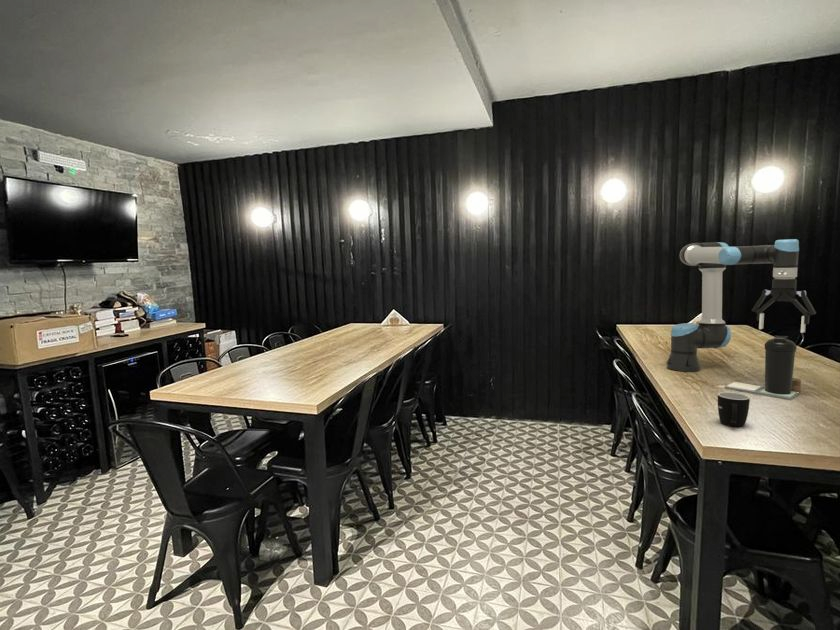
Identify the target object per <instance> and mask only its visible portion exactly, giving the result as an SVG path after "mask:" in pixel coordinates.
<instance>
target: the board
mask: <svg viewBox="0 0 840 630" xmlns="http://www.w3.org/2000/svg"><path fill="white" fill-rule="evenodd" d="M724 388H725V390H729V389H730V391H734V392H735V391H736V392H741V393H742V392H743V393H748V394H753V395H759V396H765V397H770V398H775V399H780V400H781V399H782V400H788V401H793V400H794V399H795V398H796V397H798V396H800V393H797V392H793V391H791V394H787V395H782V394H774V393H769V392H766V391H765V386H760V385H757V384H756V385H755V384H749V383H744V382H737V381H733V382H731V383H729V384H727V385H726V386H724Z"/></svg>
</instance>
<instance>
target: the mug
mask: <svg viewBox="0 0 840 630" xmlns="http://www.w3.org/2000/svg"><path fill="white" fill-rule="evenodd" d="M750 400H751V399H750V396H749V395H746V394H744V393H740V392H735V391H734V392H733V391H722V392H719V393H717V412H718V417H719V420H720V423H721V424H722V425H724V426H726V427H731V428H742V427H744V426H745V424H746V423H747V420H748V415H749V408H750V402H751V401H750Z"/></svg>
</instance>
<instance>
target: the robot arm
mask: <svg viewBox="0 0 840 630" xmlns="http://www.w3.org/2000/svg"><path fill="white" fill-rule="evenodd" d="M799 243H800V242H799V240H798V239H797V238H795V239H794V238H791V239H790V238H789V239H777V240H775V242H774V245H773V244H769V245H768V244H764V245H762V244H761V245H747V246H746V245H743V246H742V245H741V246H729V244H728V243H726V242H719V241H718V242H717V241H714V242H693V243H689V244H686V245H685V246H683V247H682V248H681V249H680V252H679V260H680V261H681V263H682V264H684V265H686V266H691V267H696V266H697V267H698V270H699V271H700V272H701V275H702V276H701V280H702V281H701V284H702V285H701V319H700V320H699V321H698V322H697V323H695V322H686V323H685V322H682V323H678V324H674V325H673V326H672V327H671V332H670V354H669V356H668V359H667V362H666V368H667V369H668V368H669V370H671V369H673V370H672V371H675V370H678V371H677V372H683V371H687V373H689V372H690V373H691V372H692V371H696V372H700V371H701V364H700V360H699V357H698V349H721V348H724V347H727V345H729V343H730V342H731V338H732V331H731V328H730V327H729V326H728V325H727V324H726V321H725V320H723V272H724V271H725V270H726V269H727V266H733V265H734V266H735V265H749V264H750V265H754V264H755V265H759V264H764V265H765V264H773V266H772V268H773V269H772V277H773V279H772V280H771V281H772V282H771V283H772V285H771V290H768V289H763V290H762V291H761V295H760V297H759V298H758V300H756V303H755V304H754V306H753V307H752V308H751V312H753V313H755V314H756V321H758V322H759V323H758V330H762V329H764V324H765V323H764V322H765V321H764V320H765V313H764V311H765V310H766V309H767V308H769V307H770V306H771V305H772V304H773V303H774V302H776V301H777V302H786V303H787V302H790V303H792V304H793V305H794V307H795V308H797V309H798V310H799V312H801V313H802V316H801V322H800V323H801V324H800V333H801V334H802V333H803V334H804V333H806V325H809V324H810V316H813V315H816V314H817V311H816V310H815V308H814V306H813V304H812V303H811V301H810V299H809V298H808V295H807V291H806V290H801V291H799V290H797V284H798V283H797V281H798V280H797V279H796V278H797V277H798V265H799V254H800V253H799V252H800V246H799V245H800V244H799ZM769 295H771V296H772V297H771V298H770V299H769V300H768V301H767V302H766V303H765V304H763V303H764V300H765V299H766V297H767V296H769ZM797 295H798V297H801V300H802V301H803V303H804V305H805V307H806V308H805V307H804V306H803V305H802V304H801V303H800V302H799V301H798V299H797V298H796V296H797ZM762 304H763V305H762ZM761 305H762V306H761ZM760 306H761V307H760ZM699 370H700V371H699ZM688 371H689V372H688Z"/></svg>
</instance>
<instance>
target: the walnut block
mask: <svg viewBox="0 0 840 630" xmlns="http://www.w3.org/2000/svg"><path fill="white" fill-rule="evenodd" d="M801 385H802V380H801V378H795V377H793V378H792V388H791V391H793V392H799V394H801V387H802V386H801Z"/></svg>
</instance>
